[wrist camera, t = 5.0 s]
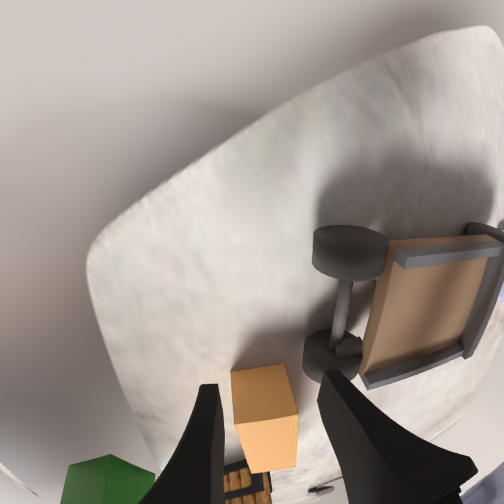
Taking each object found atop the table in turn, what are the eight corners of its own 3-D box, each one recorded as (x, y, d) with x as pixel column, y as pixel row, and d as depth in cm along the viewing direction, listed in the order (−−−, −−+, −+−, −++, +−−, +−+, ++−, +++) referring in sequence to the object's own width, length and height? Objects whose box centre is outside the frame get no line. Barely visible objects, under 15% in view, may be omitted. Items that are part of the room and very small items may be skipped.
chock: (283, 361, 19) (298, 414, 15) (286, 426, 23) (295, 466, 18) (230, 369, 19) (234, 424, 14) (246, 432, 23) (251, 473, 18)
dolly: (484, 222, 17) (529, 245, 12) (459, 312, 20) (493, 344, 15) (304, 226, 15) (343, 269, 10) (296, 349, 18) (317, 408, 13)
